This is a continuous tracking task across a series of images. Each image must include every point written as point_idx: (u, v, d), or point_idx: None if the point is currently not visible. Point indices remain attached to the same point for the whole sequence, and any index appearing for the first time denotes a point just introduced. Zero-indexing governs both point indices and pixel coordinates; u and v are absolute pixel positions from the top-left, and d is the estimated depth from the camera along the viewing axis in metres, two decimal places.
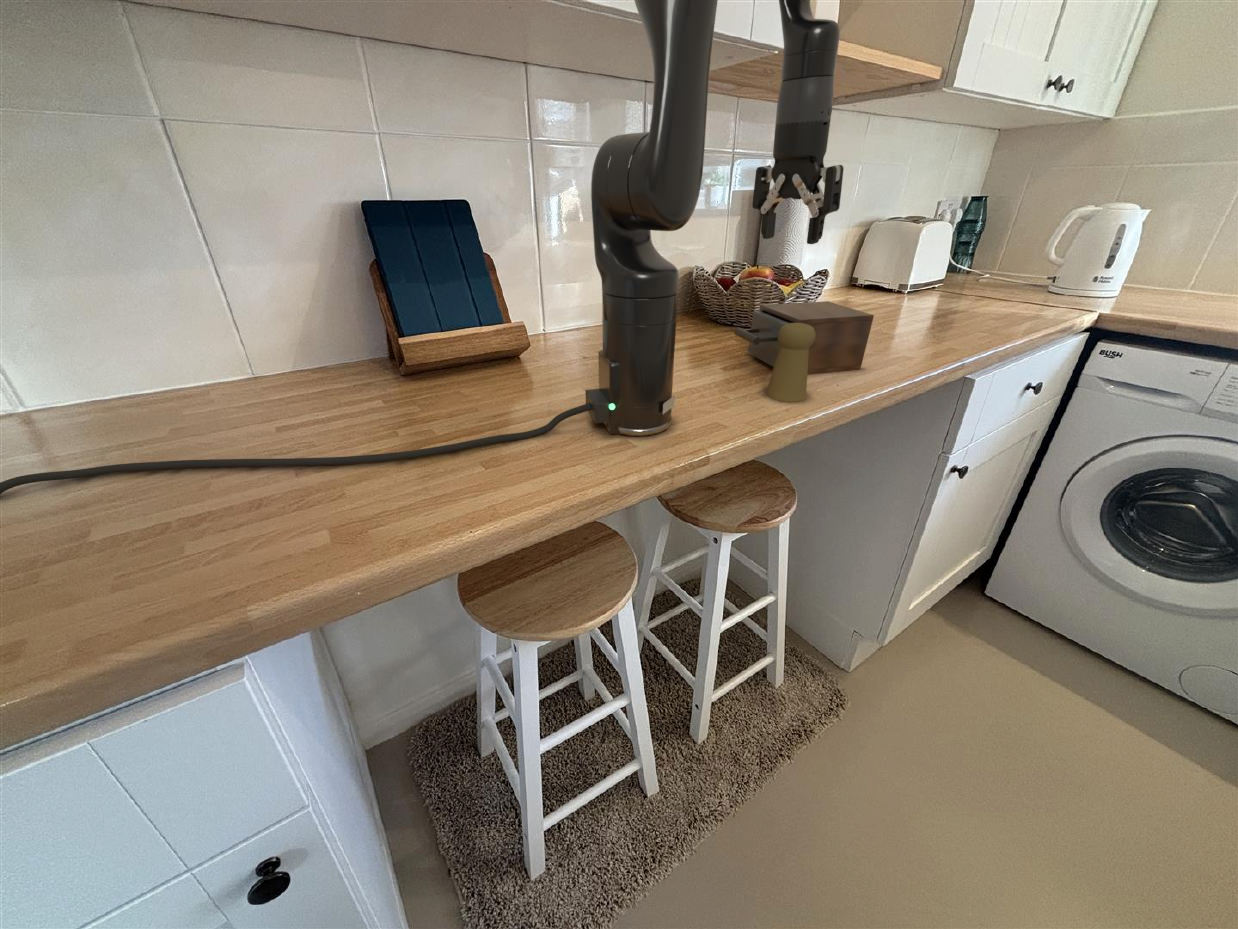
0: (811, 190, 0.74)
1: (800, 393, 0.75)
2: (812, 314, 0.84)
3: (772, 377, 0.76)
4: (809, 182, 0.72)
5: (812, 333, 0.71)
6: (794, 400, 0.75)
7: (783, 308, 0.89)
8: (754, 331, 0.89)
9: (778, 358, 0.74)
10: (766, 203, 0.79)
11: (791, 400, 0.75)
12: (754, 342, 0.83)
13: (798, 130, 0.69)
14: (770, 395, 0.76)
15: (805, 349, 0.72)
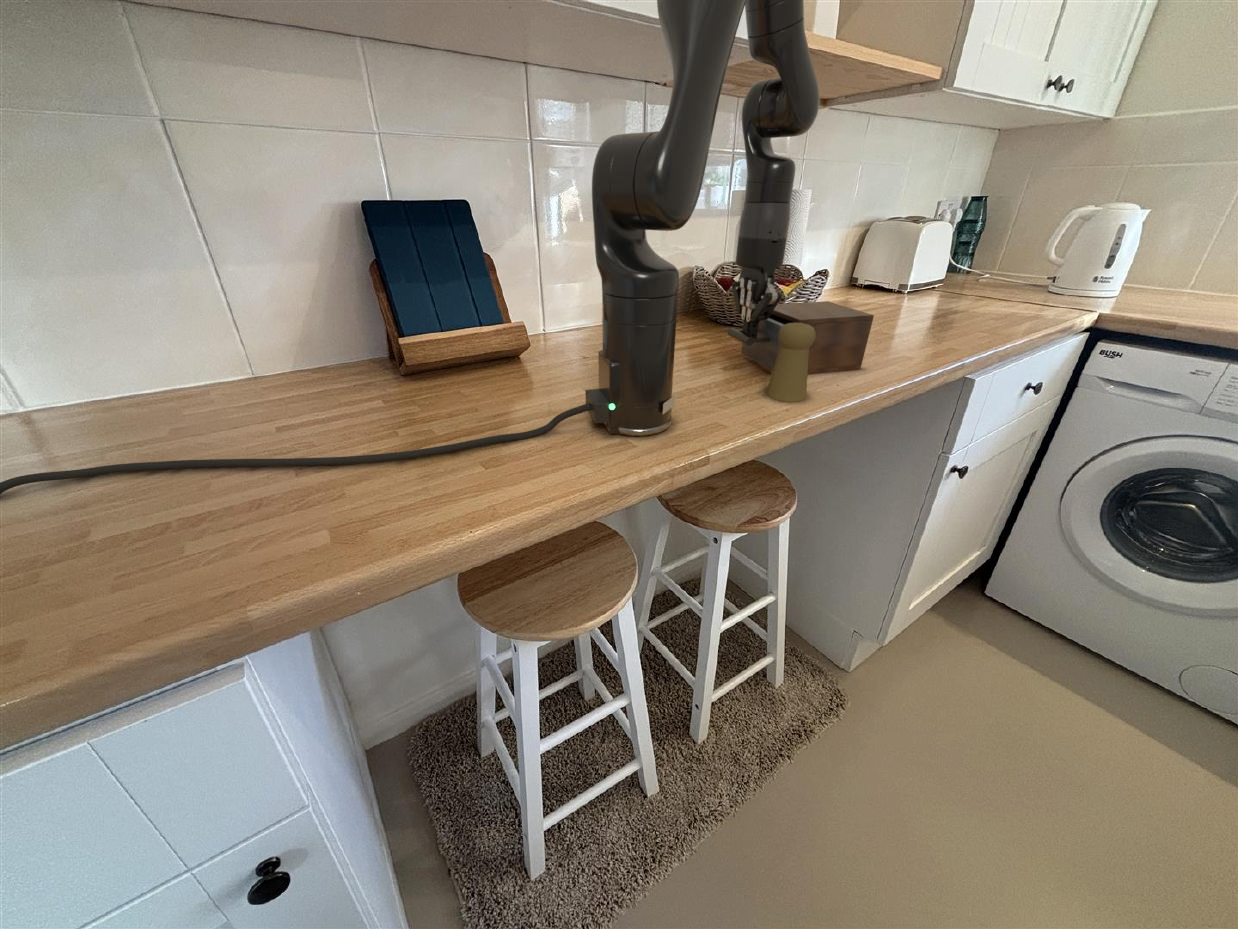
0: (764, 296, 0.81)
1: (800, 393, 0.75)
2: (812, 314, 0.84)
3: (772, 377, 0.76)
4: (759, 289, 0.80)
5: (812, 333, 0.71)
6: (794, 400, 0.75)
7: (783, 308, 0.89)
8: None
9: (778, 358, 0.74)
10: (743, 309, 0.85)
11: (791, 400, 0.75)
12: (747, 343, 0.83)
13: (749, 244, 0.77)
14: (770, 395, 0.76)
15: (805, 349, 0.72)
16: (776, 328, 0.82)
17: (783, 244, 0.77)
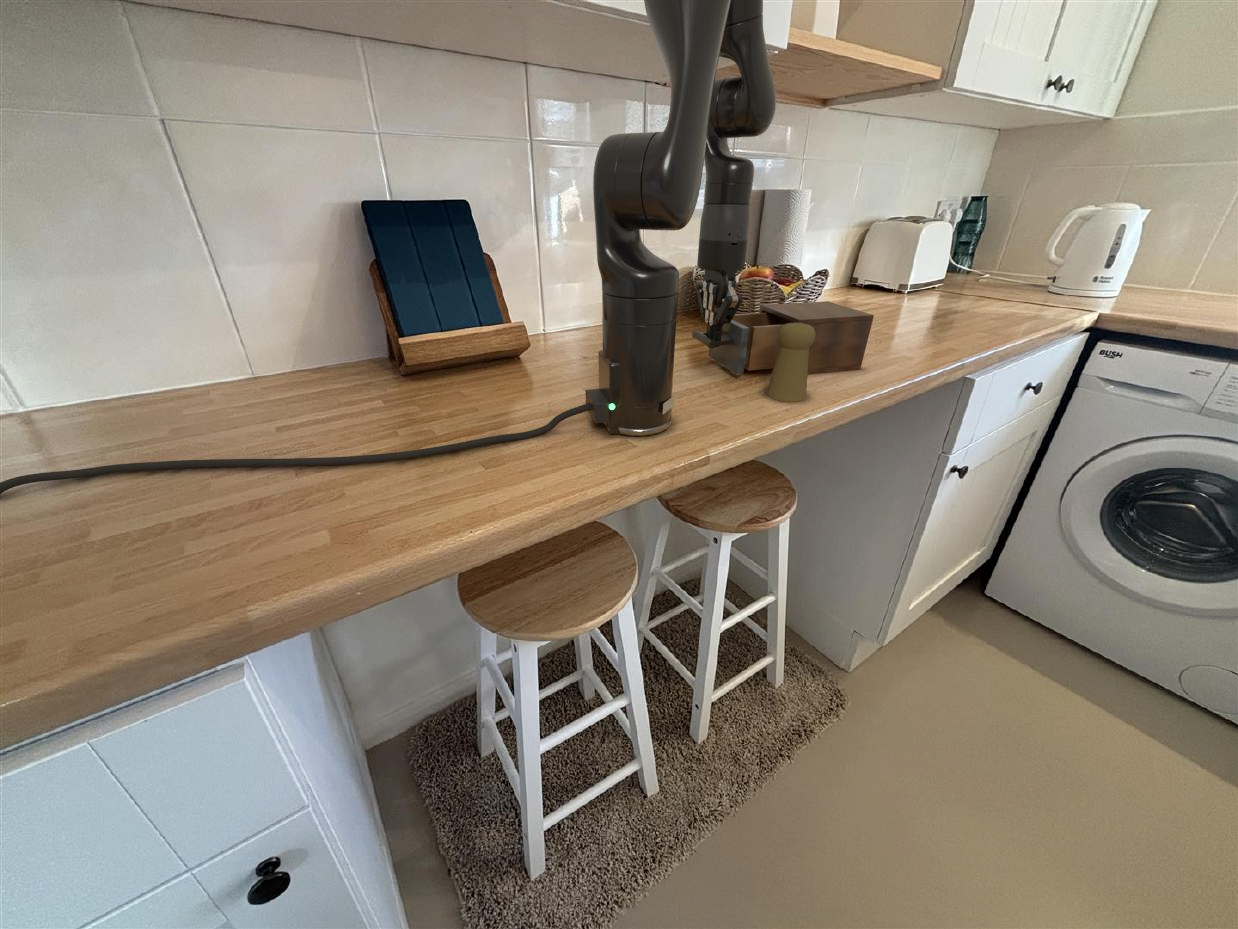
0: None
1: (800, 393, 0.75)
2: (812, 314, 0.84)
3: (772, 377, 0.76)
4: (720, 292, 0.78)
5: (812, 333, 0.71)
6: (794, 400, 0.75)
7: (783, 308, 0.89)
8: None
9: (778, 358, 0.74)
10: (706, 313, 0.83)
11: (791, 400, 0.75)
12: (709, 345, 0.81)
13: (709, 246, 0.75)
14: (770, 395, 0.76)
15: (805, 349, 0.72)
16: (739, 331, 0.80)
17: (743, 246, 0.75)
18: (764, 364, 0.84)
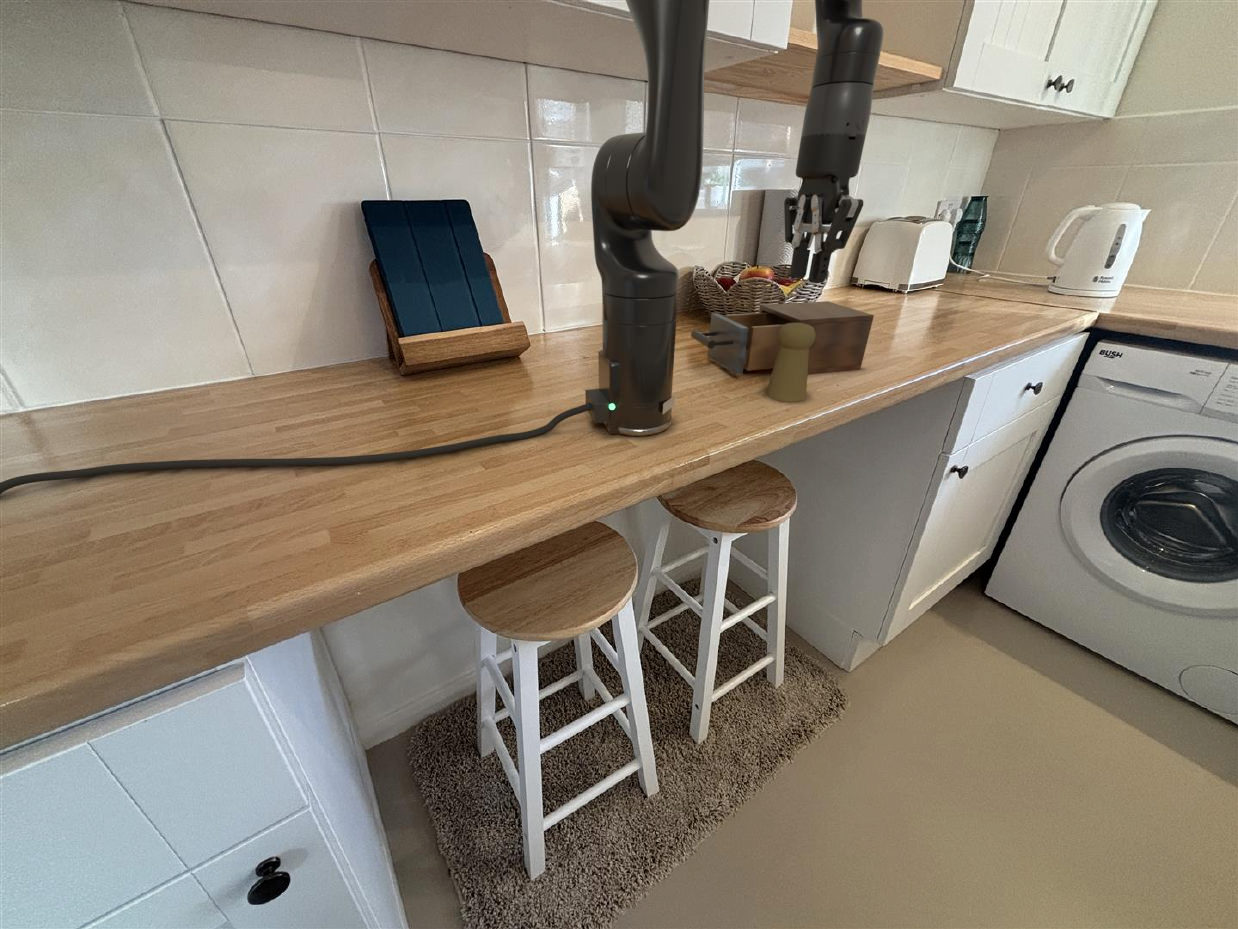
0: (832, 215, 0.63)
1: (800, 393, 0.75)
2: (812, 314, 0.84)
3: (772, 377, 0.76)
4: (828, 205, 0.62)
5: (812, 333, 0.71)
6: (794, 400, 0.75)
7: (783, 308, 0.89)
8: (712, 334, 0.87)
9: (778, 358, 0.74)
10: (795, 236, 0.68)
11: (791, 400, 0.75)
12: (708, 345, 0.81)
13: (817, 143, 0.59)
14: (770, 395, 0.76)
15: (805, 349, 0.72)
16: (738, 331, 0.80)
17: (862, 143, 0.59)
18: (763, 364, 0.84)
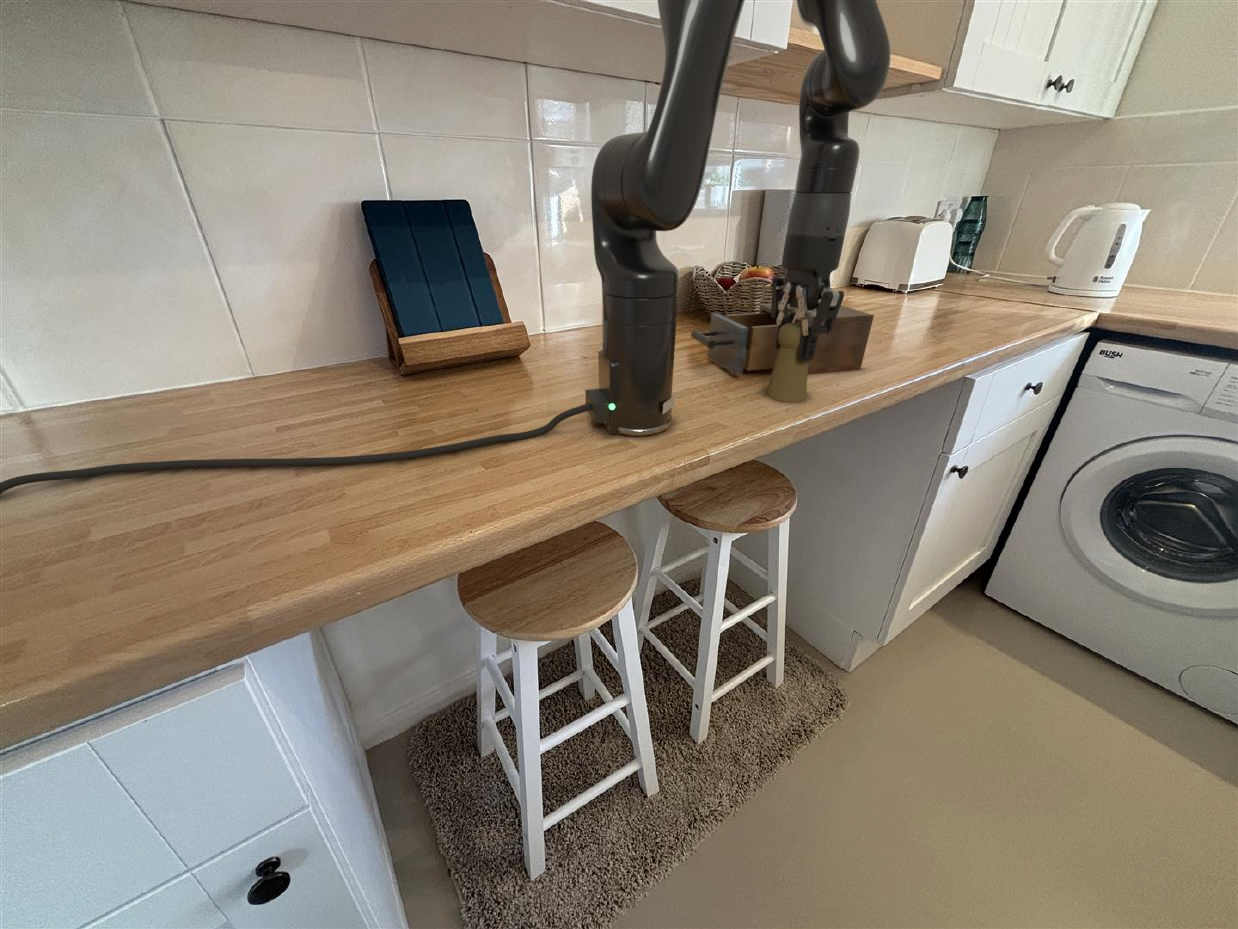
0: (815, 304, 0.68)
1: (800, 393, 0.75)
2: None
3: (772, 377, 0.76)
4: (811, 296, 0.67)
5: None
6: (794, 400, 0.75)
7: None
8: (712, 334, 0.87)
9: (778, 358, 0.74)
10: (780, 314, 0.74)
11: (791, 400, 0.75)
12: (708, 345, 0.81)
13: (800, 242, 0.65)
14: (770, 395, 0.76)
15: None
16: (738, 331, 0.80)
17: (841, 243, 0.65)
18: (763, 364, 0.84)
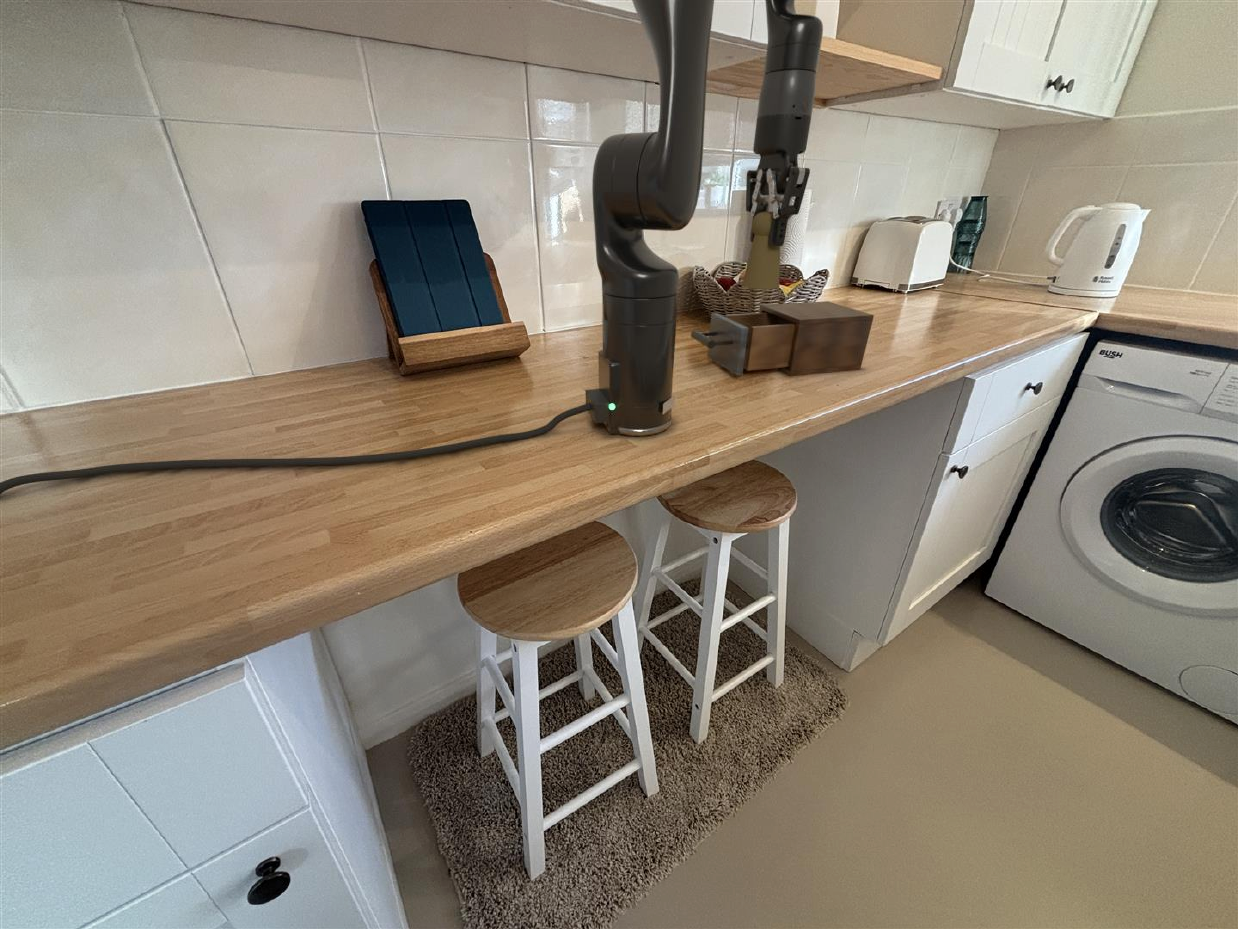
0: (785, 187, 0.72)
1: (773, 280, 0.79)
2: (812, 314, 0.84)
3: (747, 267, 0.80)
4: (780, 177, 0.71)
5: None
6: (767, 287, 0.79)
7: (783, 308, 0.89)
8: (712, 334, 0.87)
9: (752, 247, 0.79)
10: (754, 205, 0.78)
11: (764, 287, 0.79)
12: (708, 345, 0.81)
13: (769, 123, 0.69)
14: (745, 285, 0.81)
15: None
16: (738, 331, 0.80)
17: (807, 123, 0.69)
18: (763, 364, 0.84)
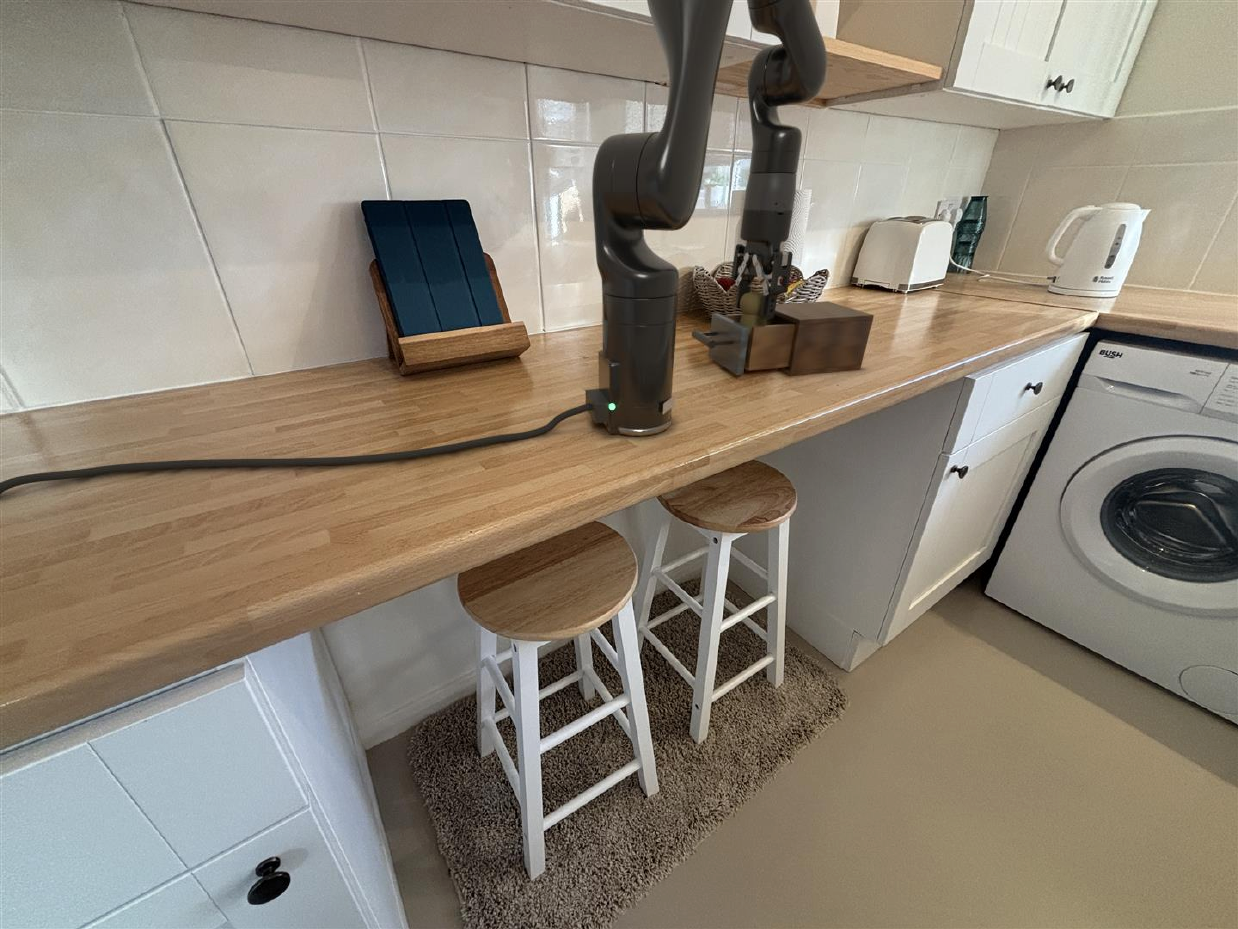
0: (769, 271, 0.79)
1: None
2: (812, 314, 0.84)
3: None
4: (764, 263, 0.78)
5: None
6: None
7: (783, 308, 0.89)
8: (712, 334, 0.87)
9: (740, 323, 0.85)
10: (739, 277, 0.85)
11: None
12: (709, 345, 0.81)
13: (754, 216, 0.75)
14: None
15: None
16: (739, 331, 0.80)
17: (789, 217, 0.75)
18: (764, 364, 0.84)
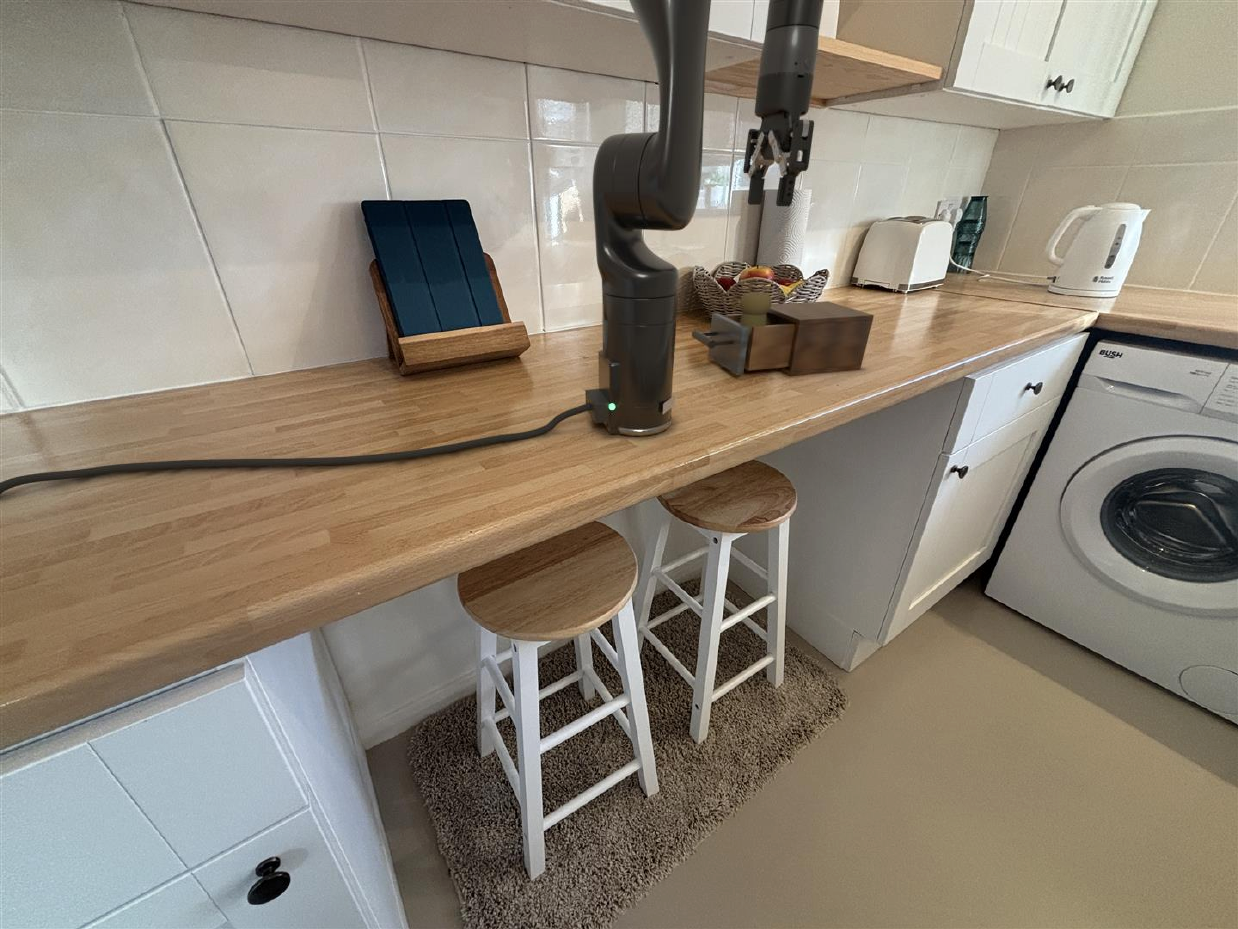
0: (787, 149, 0.71)
1: None
2: (812, 314, 0.84)
3: None
4: (782, 139, 0.70)
5: (768, 300, 0.82)
6: None
7: (783, 308, 0.89)
8: (712, 334, 0.87)
9: (740, 323, 0.85)
10: (752, 166, 0.77)
11: None
12: (709, 345, 0.81)
13: (771, 82, 0.67)
14: None
15: (762, 314, 0.83)
16: (739, 331, 0.80)
17: (810, 82, 0.67)
18: (764, 364, 0.84)
